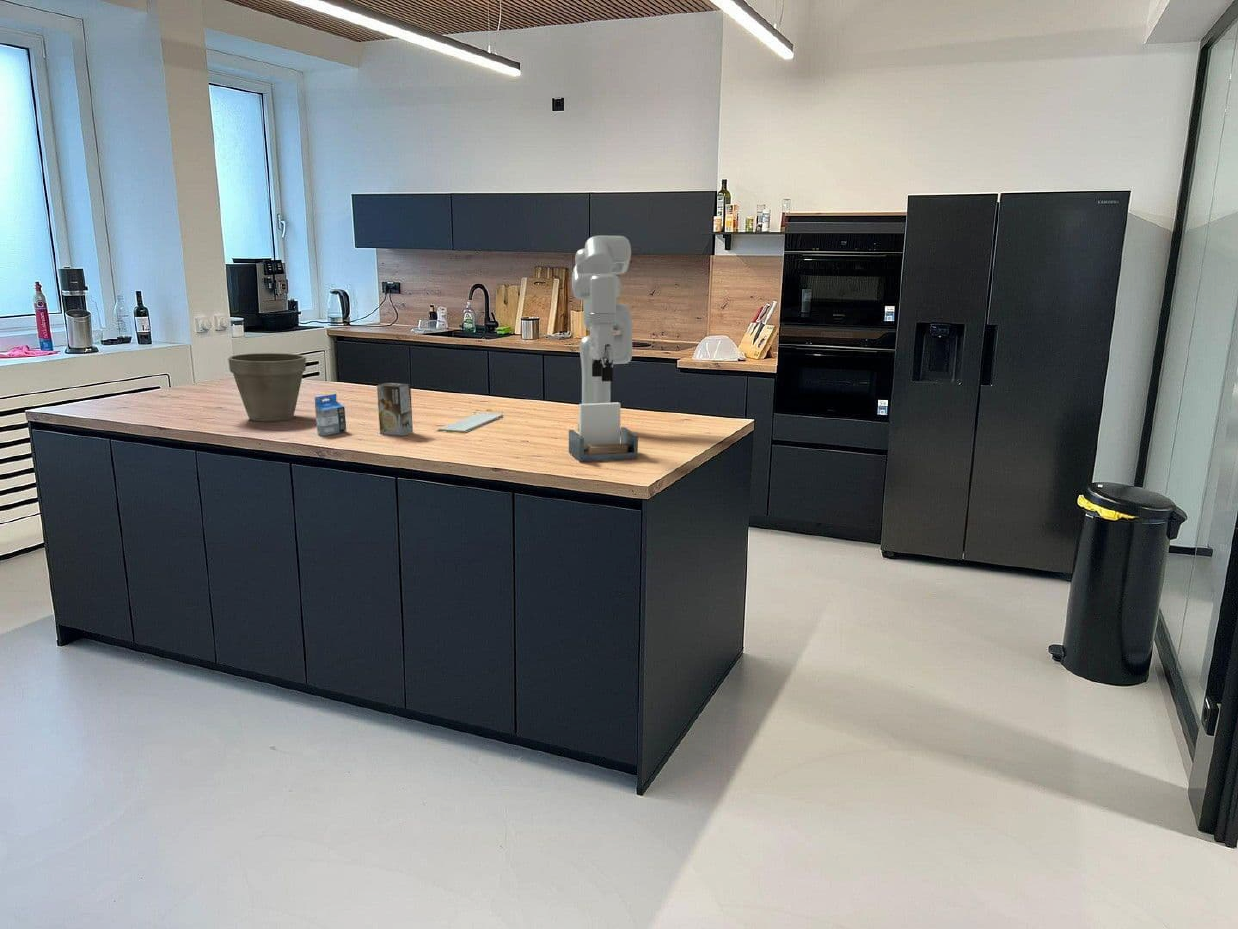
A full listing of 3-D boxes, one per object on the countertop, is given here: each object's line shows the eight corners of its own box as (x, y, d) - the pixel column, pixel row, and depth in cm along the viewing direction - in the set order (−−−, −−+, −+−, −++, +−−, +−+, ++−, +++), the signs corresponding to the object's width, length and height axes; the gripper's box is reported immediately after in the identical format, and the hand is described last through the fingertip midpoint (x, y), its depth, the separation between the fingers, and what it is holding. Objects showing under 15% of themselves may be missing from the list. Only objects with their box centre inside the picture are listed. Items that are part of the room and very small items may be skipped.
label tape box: (325, 436, 276) (322, 398, 273) (316, 434, 278) (313, 397, 275) (346, 431, 284) (344, 394, 281) (338, 430, 286) (335, 393, 283)
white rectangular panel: (578, 453, 258) (578, 403, 254) (617, 451, 261) (618, 402, 257) (581, 455, 255) (581, 405, 252) (619, 453, 259) (620, 403, 255)
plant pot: (323, 413, 314) (319, 353, 309) (286, 426, 291) (281, 361, 286) (260, 410, 319) (254, 351, 313) (218, 422, 295) (212, 359, 290)
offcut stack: (581, 458, 253) (581, 445, 252) (623, 456, 257) (624, 442, 256) (585, 461, 249) (585, 448, 248) (628, 459, 253) (628, 446, 252)
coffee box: (414, 432, 284) (411, 384, 280) (402, 436, 278) (400, 386, 274) (390, 430, 287) (388, 382, 283) (378, 433, 281) (375, 384, 277)
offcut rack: (568, 452, 258) (568, 429, 256) (624, 449, 263) (624, 427, 262) (579, 462, 247) (579, 438, 245) (637, 459, 252) (638, 435, 250)
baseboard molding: (431, 432, 287) (464, 435, 284) (430, 424, 286) (463, 426, 283) (472, 416, 316) (503, 418, 313) (472, 408, 315) (503, 410, 312)
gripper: (581, 317, 255) (581, 375, 259) (598, 321, 239) (598, 383, 243) (606, 316, 257) (605, 374, 262) (624, 321, 241) (623, 382, 246)
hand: (602, 378), depth 252 cm, fingers open, 9 cm apart
